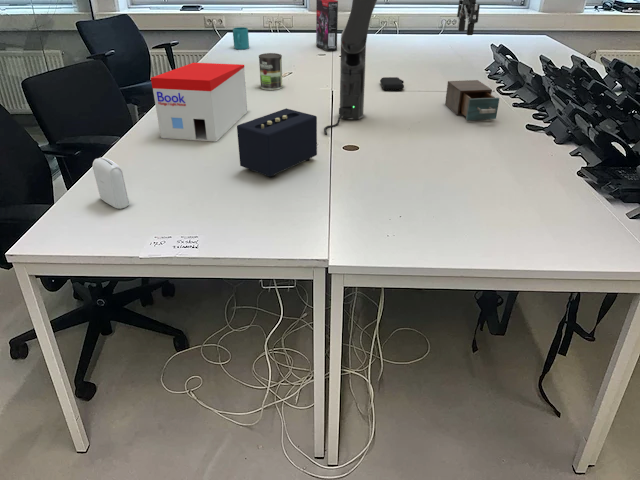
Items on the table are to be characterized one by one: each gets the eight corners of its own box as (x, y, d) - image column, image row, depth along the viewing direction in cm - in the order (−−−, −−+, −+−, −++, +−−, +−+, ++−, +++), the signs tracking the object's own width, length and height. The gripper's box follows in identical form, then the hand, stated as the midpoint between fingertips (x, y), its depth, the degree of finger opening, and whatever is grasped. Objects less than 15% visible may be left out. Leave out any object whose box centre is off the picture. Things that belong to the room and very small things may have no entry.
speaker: (287, 150, 175) (286, 105, 168) (317, 159, 168) (317, 113, 161) (239, 170, 161) (235, 122, 153) (270, 181, 154) (267, 132, 146)
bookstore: (160, 138, 186) (150, 77, 175) (199, 108, 215) (192, 55, 204) (216, 142, 182) (209, 80, 171) (247, 111, 212) (243, 57, 201)
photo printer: (98, 199, 145) (87, 156, 138) (112, 194, 147) (103, 152, 141) (117, 211, 139) (107, 167, 132) (132, 205, 141) (122, 162, 135)
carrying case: (406, 91, 236) (402, 82, 249) (407, 84, 234) (402, 76, 247) (382, 91, 236) (379, 83, 249) (383, 84, 234) (379, 76, 247)
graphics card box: (315, 46, 322) (315, -3, 308) (325, 45, 325) (325, -3, 311) (327, 52, 309) (327, 1, 295) (338, 50, 311) (338, 0, 297)
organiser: (488, 114, 208) (492, 89, 203) (457, 115, 206) (460, 90, 201) (474, 103, 220) (477, 79, 215) (445, 104, 219) (447, 81, 214)
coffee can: (275, 91, 237) (273, 58, 230) (256, 88, 241) (254, 56, 234) (287, 85, 245) (286, 54, 238) (268, 83, 249) (266, 52, 242)
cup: (231, 50, 313) (229, 30, 307) (236, 46, 323) (234, 27, 318) (246, 50, 312) (245, 30, 307) (250, 46, 323) (249, 27, 317)
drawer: (501, 122, 196) (505, 102, 192) (471, 124, 195) (474, 103, 191) (482, 108, 211) (485, 88, 207) (454, 109, 210) (457, 89, 206)
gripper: (490, -15, 178) (482, 36, 187) (474, -19, 191) (468, 29, 199) (468, -15, 178) (462, 36, 186) (454, -19, 190) (448, 29, 198)
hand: (465, 33), depth 192 cm, fingers open, 8 cm apart
